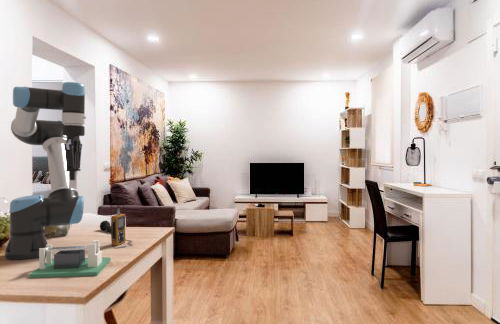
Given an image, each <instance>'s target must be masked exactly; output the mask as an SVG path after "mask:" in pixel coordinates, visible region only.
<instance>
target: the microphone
mask: <svg viewBox="0 0 500 324" xmlns="http://www.w3.org/2000/svg"><path fill="white" fill-rule="evenodd" d="M99 230H102V231H106V232H107V233H110V234H111V222H109V221H108V220H103V221H101V222H100V224H99Z"/></svg>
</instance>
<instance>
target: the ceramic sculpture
mask: <svg viewBox="0 0 500 324" xmlns="http://www.w3.org/2000/svg"><path fill="white" fill-rule="evenodd" d="M70 229H71V225H58V226H47V227H44V235H45V238H55V237H58V236H60V235H62V236H67V235H68V233H69V231H70Z"/></svg>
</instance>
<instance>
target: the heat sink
mask: <svg viewBox="0 0 500 324" xmlns="http://www.w3.org/2000/svg"><path fill="white" fill-rule="evenodd" d="M85 258H86V249H84V250H65V251H56V253H54V254H53V259H54V266H53V269H69V268H79V267H80V266H81V265H82V264H83V263H84V262H85Z"/></svg>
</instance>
